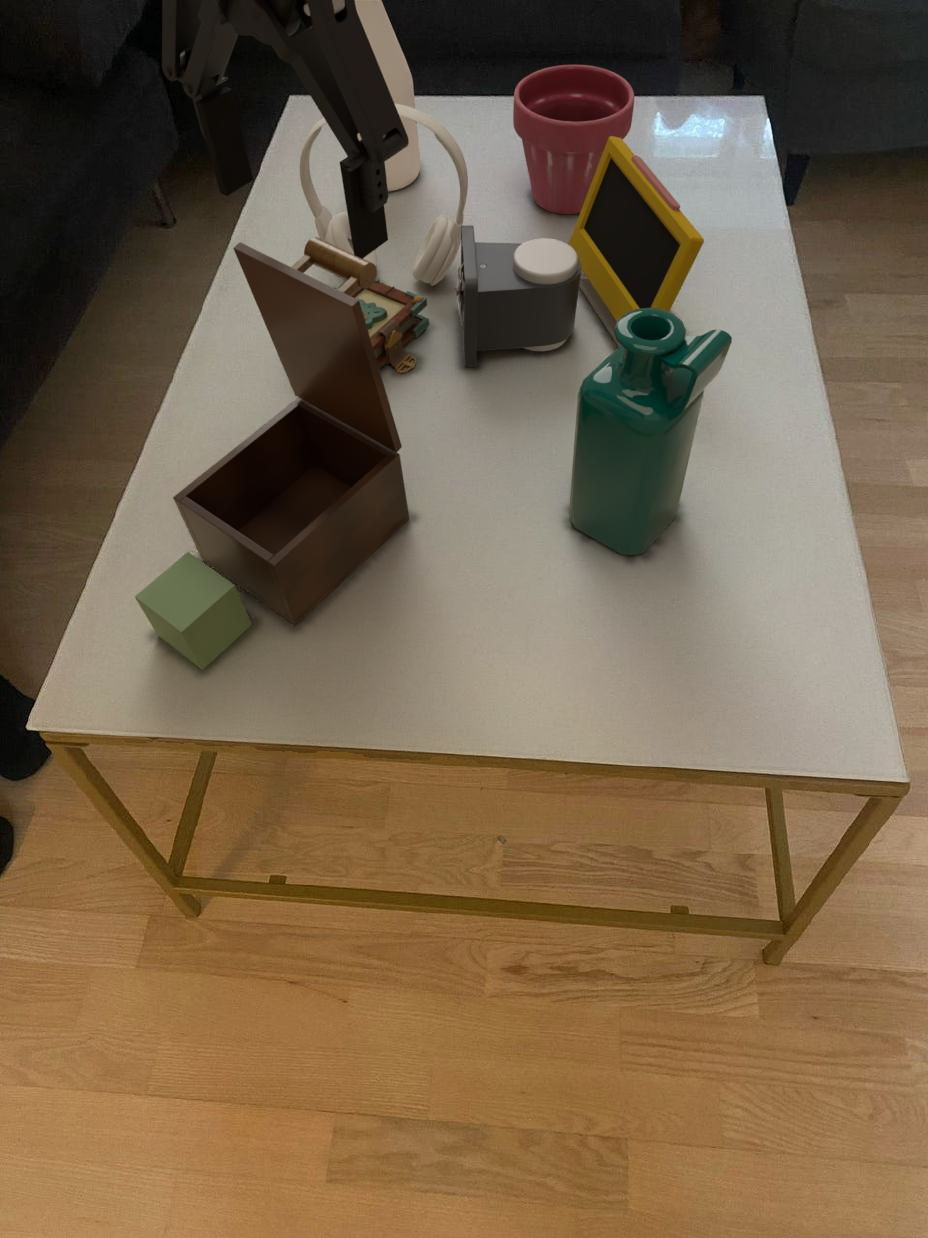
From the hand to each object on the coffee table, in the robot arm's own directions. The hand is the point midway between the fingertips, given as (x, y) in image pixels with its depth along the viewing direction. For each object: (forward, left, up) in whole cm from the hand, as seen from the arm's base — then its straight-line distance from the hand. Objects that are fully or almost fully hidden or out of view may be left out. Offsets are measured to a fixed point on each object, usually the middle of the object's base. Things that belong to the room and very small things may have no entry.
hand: (301, 216), depth 65 cm
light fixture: (+23, +15, -29) cm, 41 cm away
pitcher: (+22, -14, -29) cm, 39 cm away
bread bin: (-7, -4, -29) cm, 30 cm away
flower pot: (+40, +38, -29) cm, 63 cm away
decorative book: (+5, +19, -29) cm, 36 cm away
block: (-18, -10, -29) cm, 36 cm away
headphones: (+14, +31, -29) cm, 45 cm away
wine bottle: (+20, +53, -29) cm, 64 cm away
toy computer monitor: (+36, +13, -29) cm, 49 cm away
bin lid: (-1, -1, -12) cm, 12 cm away
